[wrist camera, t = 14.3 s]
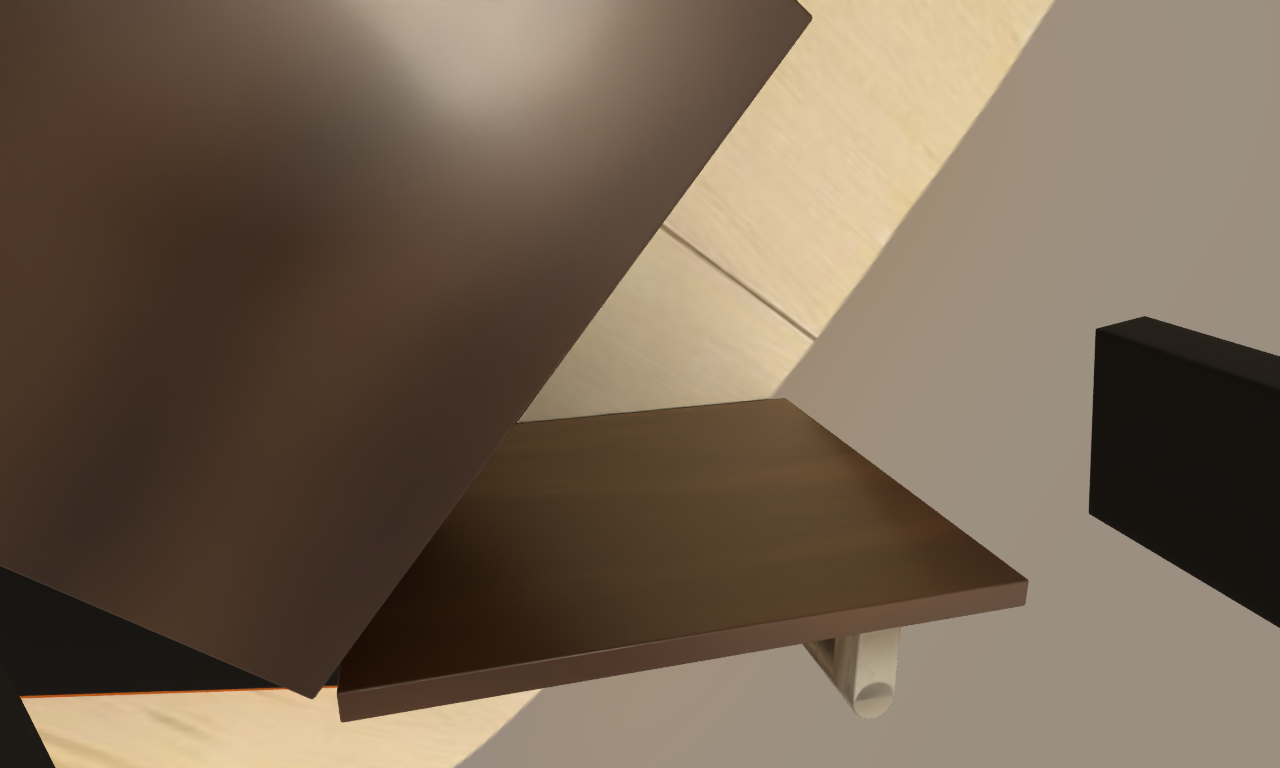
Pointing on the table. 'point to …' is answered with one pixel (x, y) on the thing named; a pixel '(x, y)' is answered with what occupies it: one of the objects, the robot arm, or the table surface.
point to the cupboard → (314, 277)
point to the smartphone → (100, 650)
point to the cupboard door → (668, 562)
